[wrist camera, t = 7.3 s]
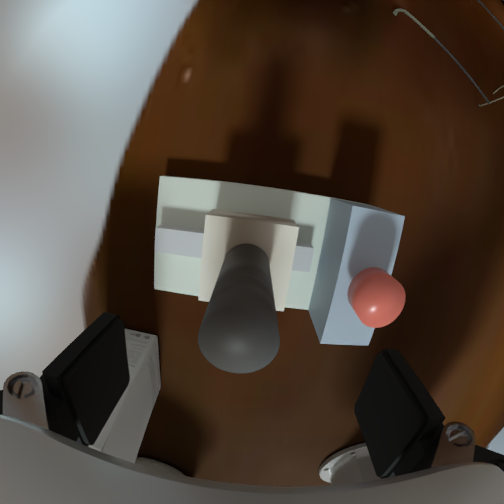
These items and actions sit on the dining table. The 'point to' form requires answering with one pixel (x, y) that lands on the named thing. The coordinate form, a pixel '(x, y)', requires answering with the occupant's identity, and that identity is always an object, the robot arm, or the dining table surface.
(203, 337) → the carriage
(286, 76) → the dining table surface
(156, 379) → the skincare box
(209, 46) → the dining table surface
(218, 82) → the dining table surface
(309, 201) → the rail board
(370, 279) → the button
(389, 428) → the robot arm
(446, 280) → the dining table surface
